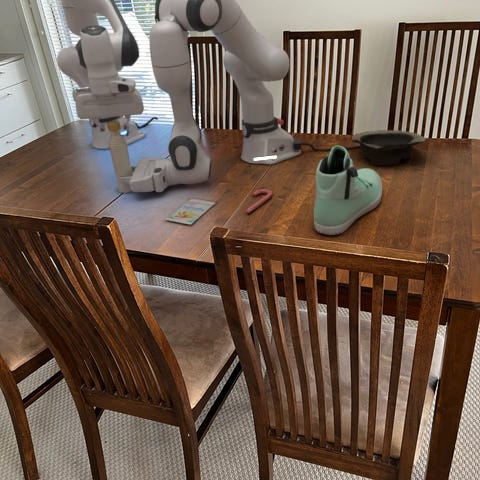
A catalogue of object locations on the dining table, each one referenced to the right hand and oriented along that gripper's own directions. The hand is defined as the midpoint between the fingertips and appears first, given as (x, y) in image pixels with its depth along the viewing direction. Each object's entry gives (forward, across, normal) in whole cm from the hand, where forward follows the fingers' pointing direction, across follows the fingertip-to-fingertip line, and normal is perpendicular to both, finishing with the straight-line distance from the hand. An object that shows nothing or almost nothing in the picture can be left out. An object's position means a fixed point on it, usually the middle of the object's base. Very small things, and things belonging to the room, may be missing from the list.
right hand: (121, 175), depth 159 cm
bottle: (-1, 0, +5) cm, 5 cm away
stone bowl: (-91, -13, +5) cm, 92 cm away
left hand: (-1, 0, -15) cm, 15 cm away
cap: (-1, 0, -18) cm, 18 cm away
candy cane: (-44, +17, +5) cm, 47 cm away
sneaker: (-70, +24, +5) cm, 74 cm away
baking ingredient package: (-24, +20, +5) cm, 32 cm away
